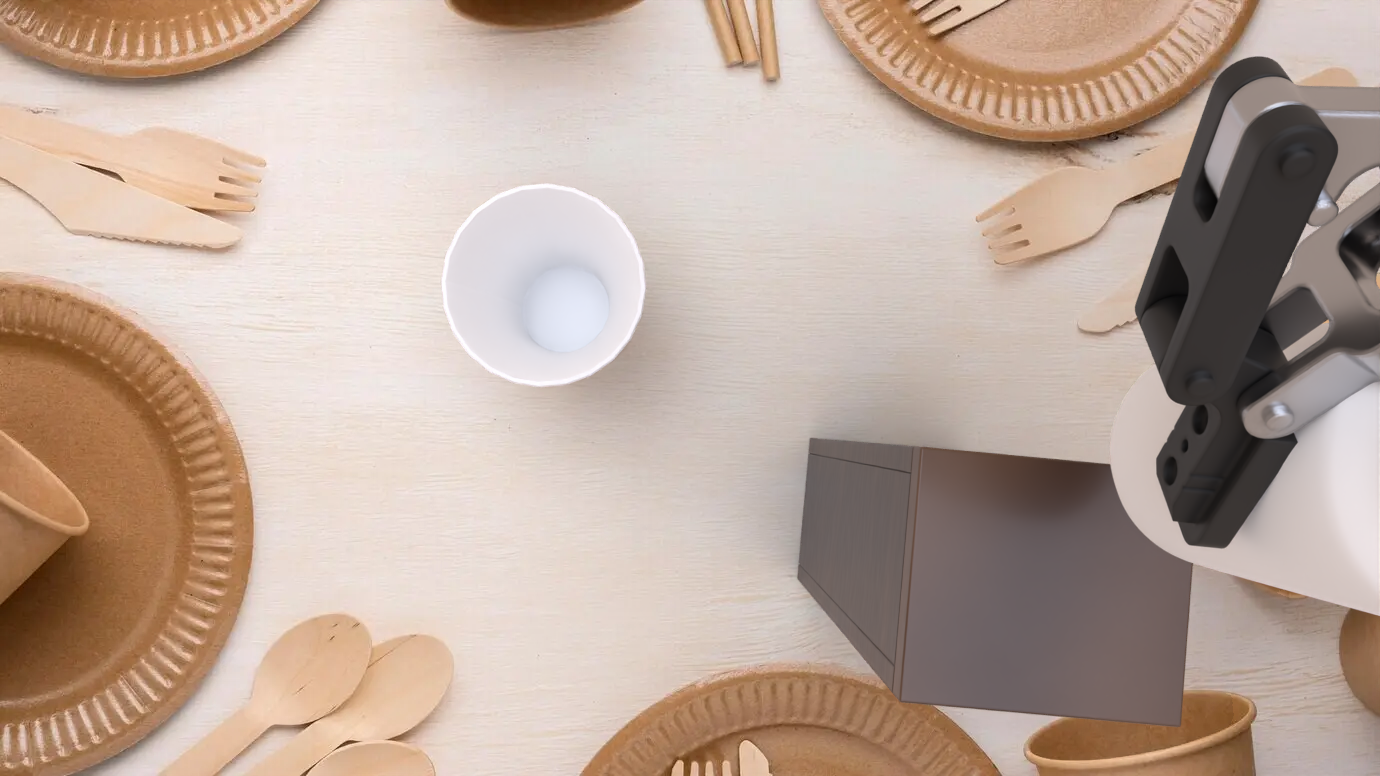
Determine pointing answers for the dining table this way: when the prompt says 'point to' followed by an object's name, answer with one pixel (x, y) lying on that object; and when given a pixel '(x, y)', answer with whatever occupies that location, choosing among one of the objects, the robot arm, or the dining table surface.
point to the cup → (543, 285)
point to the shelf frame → (857, 541)
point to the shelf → (1036, 593)
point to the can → (1273, 496)
